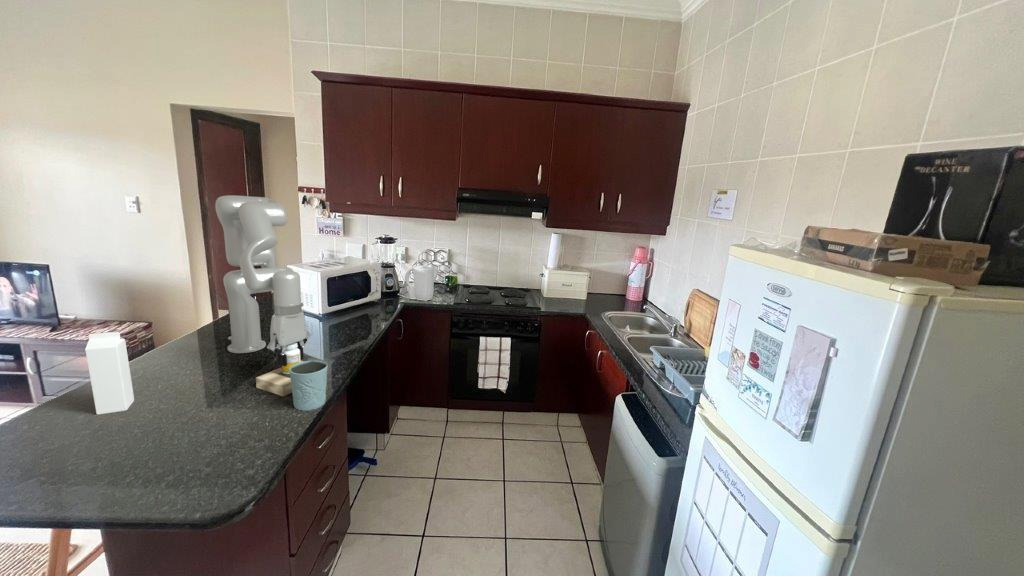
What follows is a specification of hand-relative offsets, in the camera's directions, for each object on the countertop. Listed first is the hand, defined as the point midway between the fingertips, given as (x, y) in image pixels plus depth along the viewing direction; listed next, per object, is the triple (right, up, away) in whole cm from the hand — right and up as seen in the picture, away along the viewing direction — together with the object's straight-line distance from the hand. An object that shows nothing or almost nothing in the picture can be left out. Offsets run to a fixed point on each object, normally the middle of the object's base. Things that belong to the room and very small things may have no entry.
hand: (291, 361), depth 125 cm
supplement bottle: (0, -4, +1) cm, 4 cm away
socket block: (-1, -7, +2) cm, 7 cm away
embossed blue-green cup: (+12, -11, -10) cm, 19 cm away
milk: (-38, -9, -20) cm, 43 cm away
